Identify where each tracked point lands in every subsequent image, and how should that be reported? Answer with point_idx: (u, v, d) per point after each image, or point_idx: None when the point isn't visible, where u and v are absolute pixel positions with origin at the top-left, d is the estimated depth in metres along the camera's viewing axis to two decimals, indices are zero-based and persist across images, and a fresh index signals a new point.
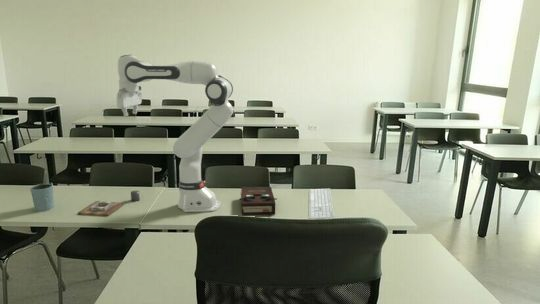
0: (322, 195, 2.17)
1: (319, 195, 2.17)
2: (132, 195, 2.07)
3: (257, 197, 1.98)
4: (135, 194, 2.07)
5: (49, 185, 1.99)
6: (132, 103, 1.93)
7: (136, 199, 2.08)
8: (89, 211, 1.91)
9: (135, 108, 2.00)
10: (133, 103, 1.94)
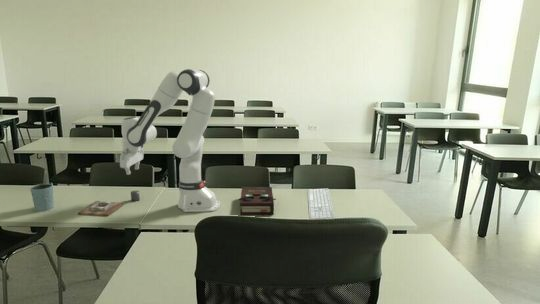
0: (321, 195, 2.17)
1: (318, 195, 2.17)
2: (132, 195, 2.07)
3: (256, 197, 1.98)
4: (135, 194, 2.07)
5: (49, 185, 1.99)
6: (134, 161, 2.04)
7: (136, 199, 2.08)
8: (89, 211, 1.91)
9: (137, 164, 2.10)
10: (135, 161, 2.05)
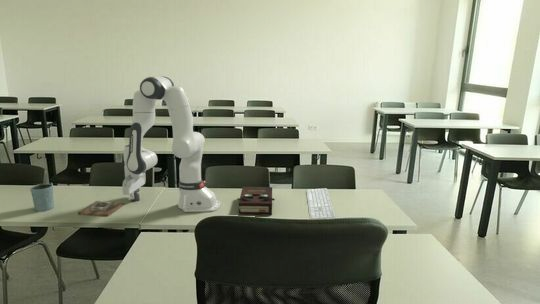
0: (320, 195, 2.17)
1: (317, 195, 2.17)
2: None
3: (255, 197, 1.98)
4: (135, 194, 2.07)
5: (49, 185, 1.99)
6: (137, 187, 2.07)
7: (136, 199, 2.08)
8: (89, 211, 1.91)
9: (138, 190, 2.12)
10: (138, 186, 2.08)
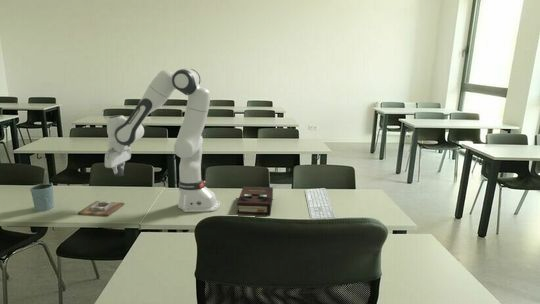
0: (319, 195, 2.17)
1: (316, 195, 2.17)
2: None
3: (254, 197, 1.99)
4: (118, 168, 1.98)
5: (49, 185, 1.99)
6: (120, 161, 1.98)
7: (119, 174, 1.99)
8: (89, 211, 1.91)
9: None
10: (121, 160, 1.99)
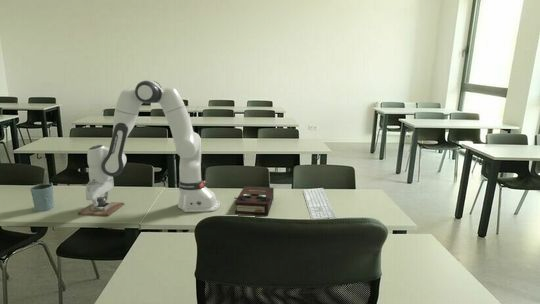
0: (317, 195, 2.17)
1: (314, 195, 2.17)
2: (98, 202, 1.93)
3: (253, 197, 1.99)
4: (101, 201, 1.93)
5: (49, 185, 1.99)
6: (102, 192, 1.93)
7: (102, 206, 1.94)
8: (89, 211, 1.91)
9: (106, 194, 2.00)
10: (104, 191, 1.94)
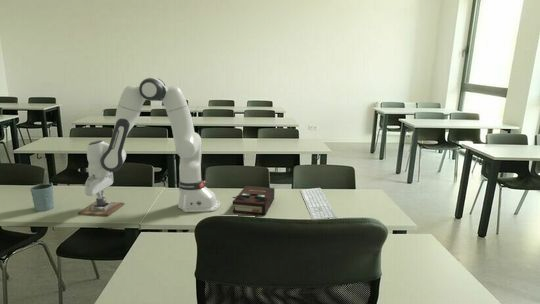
0: (316, 195, 2.17)
1: (313, 195, 2.17)
2: (98, 202, 1.93)
3: (252, 197, 1.99)
4: (101, 201, 1.93)
5: (49, 185, 1.99)
6: (102, 187, 1.93)
7: (102, 206, 1.94)
8: (89, 211, 1.91)
9: (102, 192, 1.96)
10: (103, 187, 1.94)
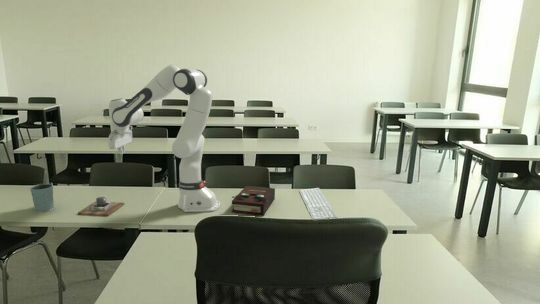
0: (315, 195, 2.17)
1: (312, 195, 2.17)
2: (98, 202, 1.93)
3: (251, 197, 1.99)
4: (101, 201, 1.93)
5: (49, 185, 1.99)
6: (123, 143, 2.06)
7: (102, 206, 1.94)
8: (89, 211, 1.91)
9: (123, 148, 2.09)
10: (124, 143, 2.07)
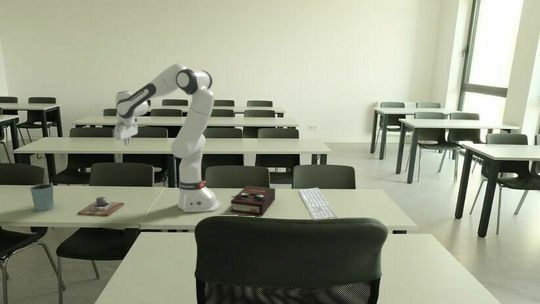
0: (314, 195, 2.17)
1: (311, 195, 2.17)
2: (98, 202, 1.93)
3: (251, 196, 1.99)
4: (101, 201, 1.93)
5: (49, 185, 1.99)
6: (129, 134, 2.10)
7: (102, 206, 1.94)
8: (89, 211, 1.91)
9: (128, 139, 2.13)
10: (130, 134, 2.11)
